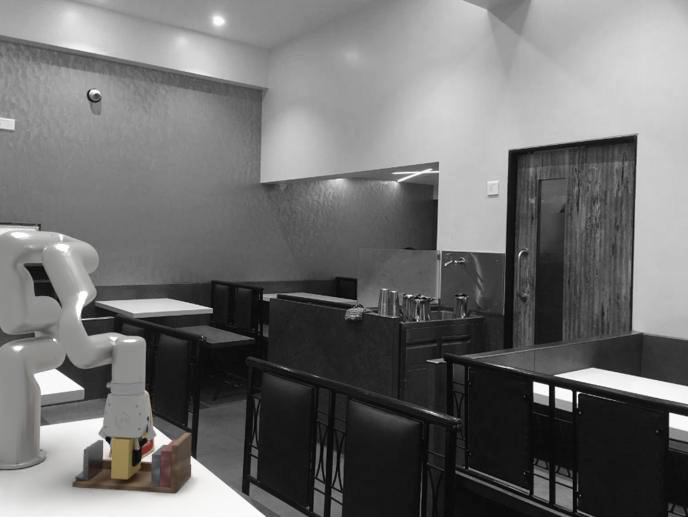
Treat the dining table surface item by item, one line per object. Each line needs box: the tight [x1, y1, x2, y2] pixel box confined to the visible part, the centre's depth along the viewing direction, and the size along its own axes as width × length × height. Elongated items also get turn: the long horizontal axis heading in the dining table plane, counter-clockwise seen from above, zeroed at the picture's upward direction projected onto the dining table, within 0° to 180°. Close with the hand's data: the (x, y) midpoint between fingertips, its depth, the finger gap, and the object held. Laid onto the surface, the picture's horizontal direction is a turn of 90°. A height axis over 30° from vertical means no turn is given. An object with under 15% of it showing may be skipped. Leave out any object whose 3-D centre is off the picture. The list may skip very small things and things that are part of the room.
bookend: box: [74, 439, 104, 481], centre depth 137 cm, size 3×7×7 cm, turn 176°
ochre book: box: [111, 438, 142, 479], centre depth 136 cm, size 4×7×9 cm, turn 176°
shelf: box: [71, 432, 192, 494], centre depth 137 cm, size 25×10×11 cm, turn 86°
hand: (126, 463), depth 136 cm, fingers closed on ochre book, 4 cm apart
